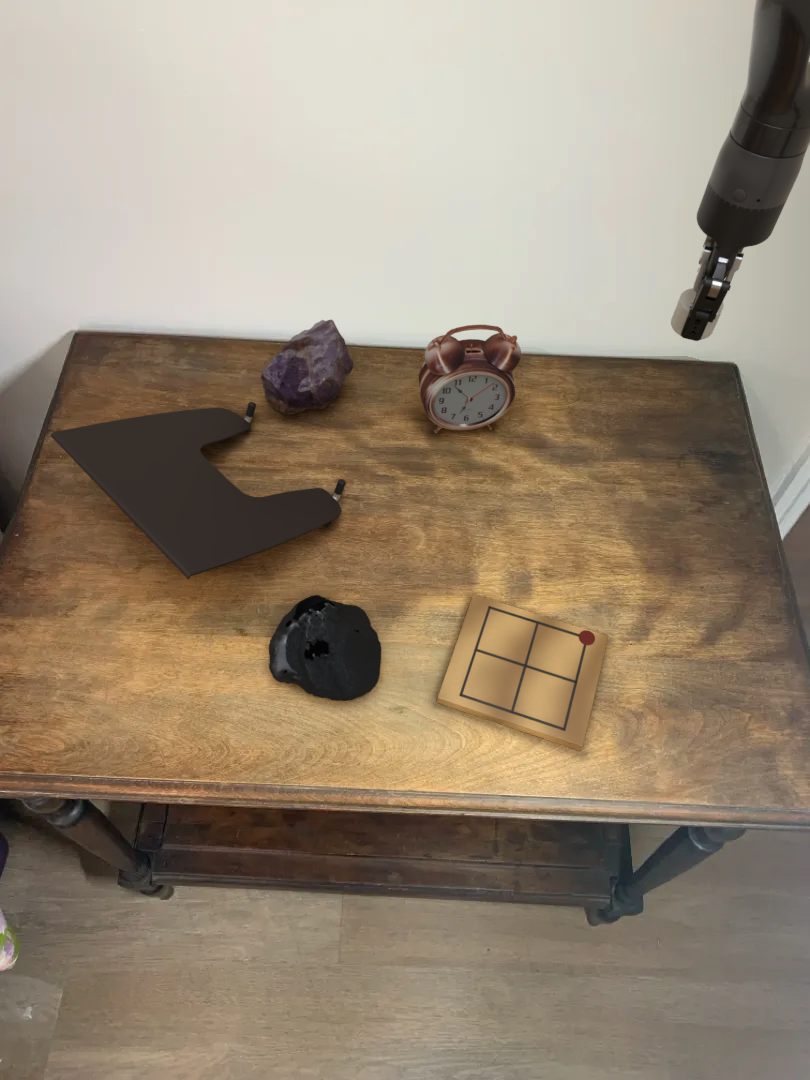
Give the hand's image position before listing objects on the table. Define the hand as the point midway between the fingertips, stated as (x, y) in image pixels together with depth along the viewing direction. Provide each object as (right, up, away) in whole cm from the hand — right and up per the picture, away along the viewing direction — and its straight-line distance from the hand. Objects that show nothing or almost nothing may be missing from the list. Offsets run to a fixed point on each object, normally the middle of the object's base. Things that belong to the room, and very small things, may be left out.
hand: (693, 321), depth 92 cm
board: (-21, -38, -12) cm, 45 cm away
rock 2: (-40, -36, -12) cm, 55 cm away
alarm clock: (-26, -11, +5) cm, 28 cm away
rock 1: (-43, -7, +7) cm, 45 cm away
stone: (0, 0, +1) cm, 1 cm away
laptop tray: (-53, -21, -2) cm, 57 cm away
